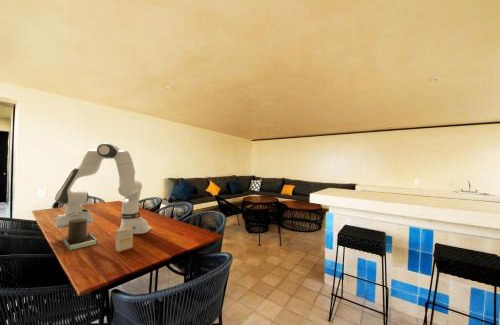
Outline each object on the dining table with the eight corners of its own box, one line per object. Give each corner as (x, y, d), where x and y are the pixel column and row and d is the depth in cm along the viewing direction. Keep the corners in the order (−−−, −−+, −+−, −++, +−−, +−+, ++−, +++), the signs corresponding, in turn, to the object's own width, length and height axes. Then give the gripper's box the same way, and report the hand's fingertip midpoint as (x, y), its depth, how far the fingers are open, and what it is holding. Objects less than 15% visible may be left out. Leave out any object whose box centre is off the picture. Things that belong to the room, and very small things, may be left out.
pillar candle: (75, 243, 131) (76, 220, 131) (63, 241, 133) (64, 219, 133) (90, 238, 140) (91, 217, 141) (79, 236, 142) (80, 215, 143)
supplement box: (129, 246, 131) (130, 225, 131) (132, 248, 128) (133, 227, 128) (115, 250, 124) (115, 228, 124) (117, 252, 121) (118, 230, 121)
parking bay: (62, 241, 134) (62, 237, 134) (88, 235, 145) (89, 232, 145) (68, 250, 121) (68, 246, 121) (97, 243, 132) (97, 239, 132)
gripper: (54, 213, 137) (56, 231, 131) (91, 209, 153) (94, 224, 147) (53, 218, 140) (55, 236, 134) (90, 213, 156) (93, 229, 149)
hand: (76, 230), depth 140 cm, fingers closed, pressing on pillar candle
